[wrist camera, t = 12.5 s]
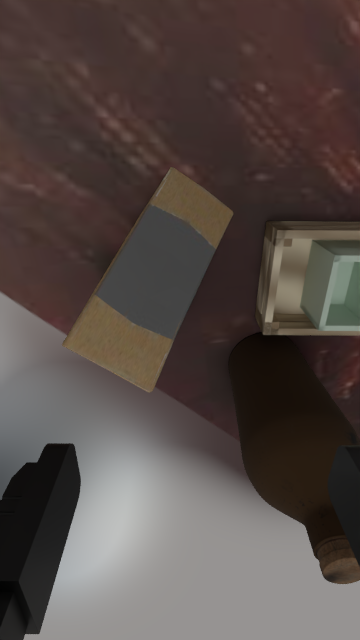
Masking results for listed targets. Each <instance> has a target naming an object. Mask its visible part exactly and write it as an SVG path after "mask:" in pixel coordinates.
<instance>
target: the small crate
mask: <svg viewBox="0 0 360 640" xmlns="http://www.w3.org/2000/svg"><path fill="white" fill-rule="evenodd" d="M300 308H301V309H302V310H303V312H304V313H305V314H306V316H307V317H308V318H309V319H310V321H311V322H312V323H313V325H314V326H315V327H316V329H317V330H318V331H360V240H312V243H311V249H310V254H309V260H308V265H307V270H306V276H305V281H304V286H303V292H302V297H301V302H300Z"/></svg>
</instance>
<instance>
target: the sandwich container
mask: <svg viewBox="0 0 360 640" xmlns="http://www.w3.org/2000/svg"><path fill="white" fill-rule="evenodd" d="M232 216H233V211H232V210H230V209H229V208H228V207H227V206H225V205H224V204H223V203H222V202H220V201H219V200H218V199H217V198H215V197H214V196H213V195H212V194H210V193H209V192H208V191H207V190H205V189H204V188H203V187H201V186H200V185H198V184H197V183H195V182H194V181H192V180H191V179H189V178H188V177H186V176H185V175H183V174H182V173H181V172H179V171H178V170H176V169H175V168H173V167H171V168H170V169H169V171H168V173H167V174H166V176H165V177H164V179H163V180H162V182H161V183H160V185H159V187H158V188H157V190H156V191H155V193H154V194H153V196H152V197H151V199H150V201H149V202H148V204H147V205H146V207H145V208H144V210H143V212H142V213H141V215H140V216H139V218H138V219H137V221H136V223H135V225H134V226H133V228H132V229H131V231H130V232H129V234H128V236H127V237H126V239H125V240H124V242H123V244H122V245H121V247H120V249H119V250H118V252H117V254H116V255H115V257H114V259H113V260H112V262H111V264H110V265H109V267H108V269H107V270H106V272H105V274H104V275H103V277H102V279H101V280H100V282H99V284H98V285H97V287H96V289H95V290H94V292H93V294H92V295H91V297H90V299H89V300H88V302H87V304H86V305H85V307H84V309H83V310H82V312H81V314H80V315H79V317H78V319H77V320H76V322H75V324H74V325H73V327H72V329H71V330H70V332H69V334H68V335H67V337H66V339H65V340H64V342H63V346H64V347H66V348H68V349H70V350H71V351H73V352H75V353H77V354H79V355H81V356H83V357H85V358H87V359H88V360H90V361H92V362H94V363H96V364H98V365H100V366H101V367H104V368H105V369H107V370H109V371H111V372H113V373H114V374H116V375H118V376H120V377H122V378H123V379H125V380H127V381H129V382H131V383H132V384H134V385H136V386H138V387H140V388H141V389H143V390H145V391H147V392H151V391H152V390H153V389H154V387H155V384H156V382H157V379H158V377H159V375H160V372H161V370H162V368H163V365H164V363H165V360H166V358H167V356H168V353H169V351H170V348H171V346H172V344H173V341H174V339H175V337H176V335H177V332H178V330H179V328H180V326H181V324H182V322H183V319H184V317H185V315H186V313H187V311H188V309H189V307H190V304H191V302H192V300H193V298H194V296H195V294H196V292H197V289H198V287H199V285H200V283H201V281H202V279H203V277H204V274H205V272H206V270H207V268H208V266H209V264H210V261H211V259H212V257H213V255H214V253H215V251H216V249H217V247H218V244H219V242H220V240H221V238H222V236H223V234H224V232H225V230H226V228H227V226H228V224H229V222H230V220H231V218H232Z"/></svg>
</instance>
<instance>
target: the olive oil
mask: <svg viewBox="0 0 360 640" xmlns="http://www.w3.org/2000/svg"><path fill="white" fill-rule="evenodd" d="M229 373H230V379H231V384H232V390H233V396H234V402H235V409H236V416H237V422H238V429H239V437H240V444H241V450H242V458H243V463H244V467H245V470H246V473H247V475H248V477H249V479H250V481H251V483H252V484H253V486H254V488H255V489H256V491H257V492H258V493H259V495H260V496H261V497H262V498H263V499H264V500H265V501H266V502H267V503H268V504H269V505H271V506H272V507H274V508H276V509H277V510H279V511H281V512H282V513H284V514H286V515H288V516H290V517H291V518H293V519H295V520H297V521H299V522H300V523H302V524H303V525H305V527H306V530H307V533H308V536H309V540H310V543H311V546H312V549H313V553H314V556H315V557H316V558H317V559H318V560H319V562H320V568H321V571H322V574H323V576H324V578H325V579H326V580H327V581H329V582H332V583H337V584H348V583H353V582H356V581H359V580H360V567H359V565H358V562H357V560H356V558H355V555H354V553H353V551H352V549H351V546H350V544H349V542H348V539H347V537H346V535H345V532H344V530H343V528H342V525H341V523H340V521H339V518H338V516H337V514H336V512H335V509H334V507H333V505H332V502H331V500H330V497H329V492H328V477H329V474H330V471H331V467H332V464H333V461H334V457H335V454H336V451H337V448H338V447H339V446H341V445H354V446H360V441H359V438H358V436H357V434H356V432H355V430H354V429H353V427H352V426H351V424H350V423H349V421H348V420H347V419H346V417H345V416H344V414H343V413H342V412H341V410H340V409H339V407H338V406H337V405H336V403H335V402H334V401H333V399H332V398H331V396H330V395H329V394H328V392H327V391H326V389H325V388H324V386H323V385H322V384H321V382H320V381H319V379H318V378H317V377H316V375H315V374H314V372H313V371H312V369H311V368H310V367H309V365H308V364H307V362H306V360H305V359H304V357H303V356H302V354H301V353H300V351H299V350H298V348H297V347H296V345H295V344H294V343H293V342H292V341H291V340H290V339H288V338H287V337H285V336H283V335H263V333H258V334H254V335H252V336H249V337H247V338H246V339H244V340H243V341H241V342H240V343H239V344H238V345H237V346H236V347H235V348H234V350H233V351H232V353H231V356H230V359H229Z"/></svg>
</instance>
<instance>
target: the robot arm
mask: <svg viewBox="0 0 360 640" xmlns="http://www.w3.org/2000/svg"><path fill="white" fill-rule="evenodd" d="M80 484H81V479H80V472H79V467H78V462H77V456H76V451H75V446H74V445H73V444H47V445H46V446H45V447H44V449H43V451H42V453H41V456H40V458H39V460H38V462H37V463H26V464H25V465H24V466H23V467H22V468H21V469H20V470H19V471H18V472H17V473H16V474H15V475H14V476H13V477H12V478H11V480H10V482H9V484H8V486H7V488H6V490H5V492H4V494H3V496H2V500H0V640H23V639H24V635H25V634H39V633H40V630H41V626H42V623H43V620H44V616H45V613H46V609H47V605H48V602H49V599H50V595H51V592H52V588H53V585H54V582H55V578H56V574H57V571H58V568H59V564H60V561H61V557H62V554H63V550H64V547H65V544H66V540H67V537H68V533H69V529H70V526H71V523H72V519H73V516H74V512H75V509H76V506H77V502H78V498H79V493H80ZM328 492H329V497H330V500H331V502H332V505H333V507H334V509H335V512H336V514H337V516H338V518H339V521H340V523H341V525H342V528H343V530H344V532H345V535H346V537H347V539H348V542H349V544H350V546H351V549H352V551H353V553H354V555H355V558H356V560H357V562H358V565H359V567H360V446H354V445H341V446H339V447H338V448H337V451H336V454H335V457H334V461H333V464H332V467H331V471H330V474H329V477H328Z"/></svg>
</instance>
